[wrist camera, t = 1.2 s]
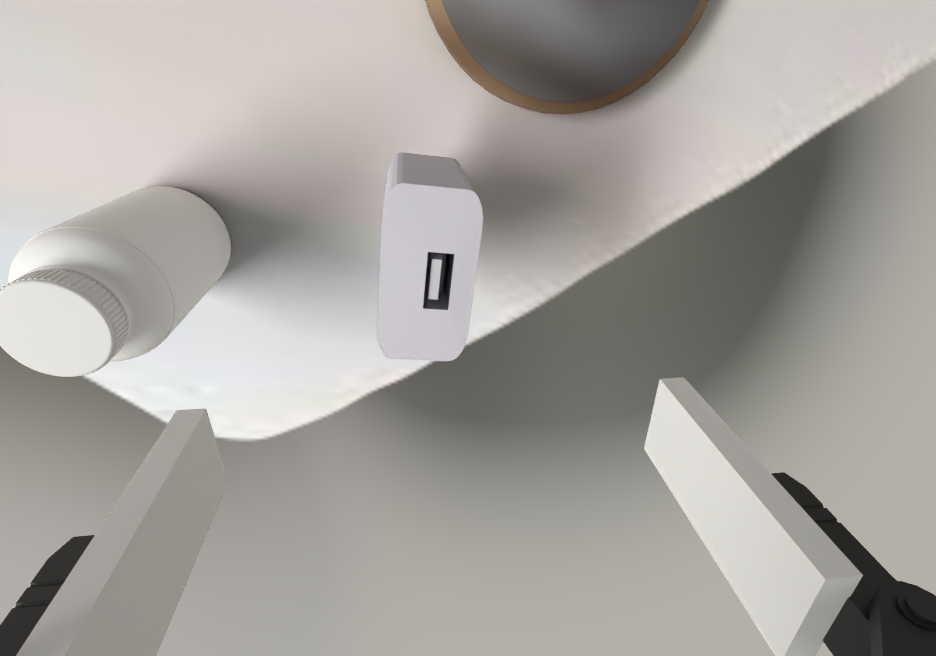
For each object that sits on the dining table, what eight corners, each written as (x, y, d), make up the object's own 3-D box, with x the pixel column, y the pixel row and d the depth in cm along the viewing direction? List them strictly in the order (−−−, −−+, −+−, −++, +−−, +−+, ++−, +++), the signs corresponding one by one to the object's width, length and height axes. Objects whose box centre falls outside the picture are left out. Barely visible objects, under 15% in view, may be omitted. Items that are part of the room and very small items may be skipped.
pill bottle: (230, 189, 35) (128, 263, 22) (237, 291, 39) (153, 406, 26) (107, 175, 34) (-79, 244, 21) (126, 282, 37) (-22, 398, 24)
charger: (455, 145, 36) (487, 191, 23) (443, 264, 40) (464, 362, 27) (390, 137, 35) (383, 181, 22) (384, 260, 39) (375, 358, 26)
